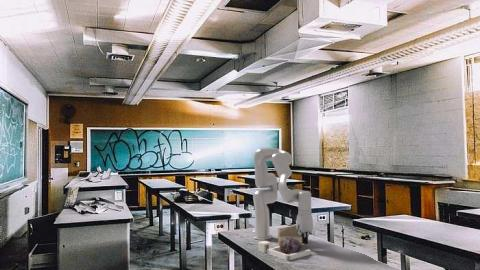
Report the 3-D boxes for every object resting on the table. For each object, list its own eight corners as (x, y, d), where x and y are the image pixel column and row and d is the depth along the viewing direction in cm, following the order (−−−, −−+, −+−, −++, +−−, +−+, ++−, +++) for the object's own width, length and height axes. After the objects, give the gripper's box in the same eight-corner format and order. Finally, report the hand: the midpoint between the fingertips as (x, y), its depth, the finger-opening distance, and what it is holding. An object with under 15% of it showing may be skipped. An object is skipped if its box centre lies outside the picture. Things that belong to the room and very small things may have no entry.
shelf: (275, 247, 227) (275, 227, 227) (299, 242, 239) (298, 223, 239) (282, 250, 222) (282, 229, 223) (306, 244, 234) (305, 224, 235)
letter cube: (258, 250, 222) (258, 242, 222) (264, 249, 225) (264, 240, 225) (264, 252, 218) (263, 244, 218) (270, 251, 221) (270, 242, 221)
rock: (292, 260, 207) (304, 256, 213) (294, 245, 206) (306, 241, 212) (277, 252, 216) (289, 248, 222) (278, 238, 215) (290, 234, 221)
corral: (267, 253, 216) (267, 249, 216) (289, 248, 226) (289, 243, 226) (288, 260, 202) (288, 255, 202) (310, 254, 213) (310, 249, 213)
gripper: (308, 209, 231) (309, 240, 230) (291, 212, 222) (291, 244, 221) (318, 211, 225) (318, 242, 224) (300, 214, 216) (300, 247, 215)
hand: (305, 243), depth 223 cm, fingers closed
